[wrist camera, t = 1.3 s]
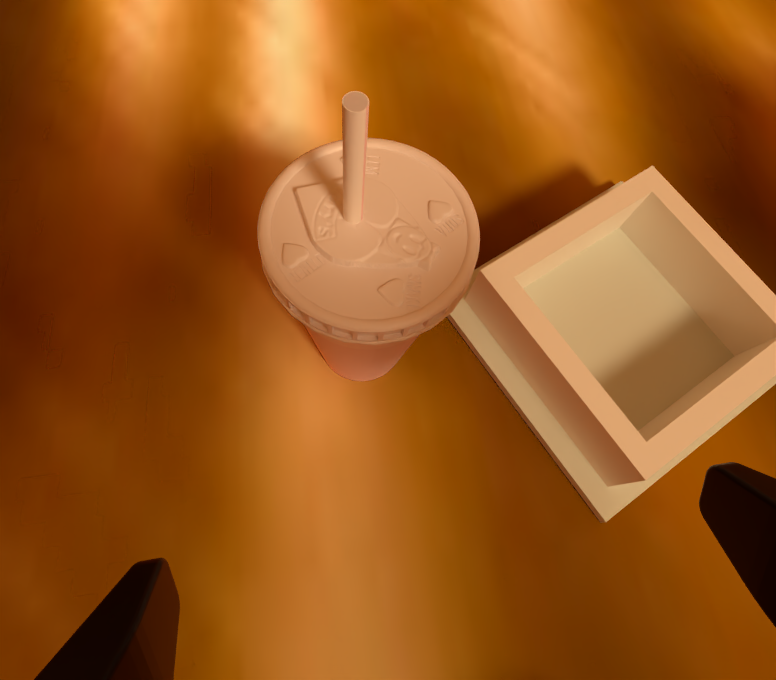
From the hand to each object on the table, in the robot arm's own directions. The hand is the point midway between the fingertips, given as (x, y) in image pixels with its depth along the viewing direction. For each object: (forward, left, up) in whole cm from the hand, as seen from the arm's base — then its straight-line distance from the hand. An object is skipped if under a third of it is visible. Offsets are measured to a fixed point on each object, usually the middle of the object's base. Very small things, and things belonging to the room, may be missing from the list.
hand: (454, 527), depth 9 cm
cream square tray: (+1, -13, -14) cm, 19 cm away
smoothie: (+7, -3, -14) cm, 16 cm away
